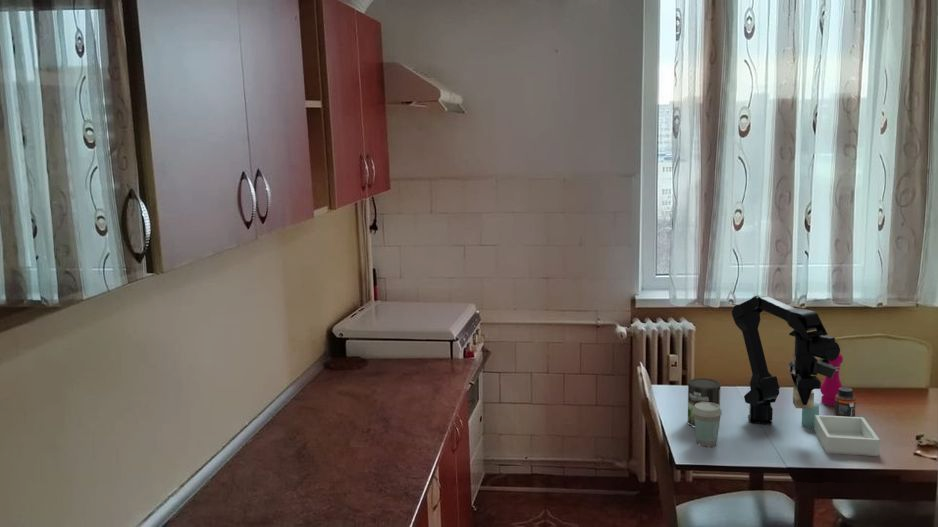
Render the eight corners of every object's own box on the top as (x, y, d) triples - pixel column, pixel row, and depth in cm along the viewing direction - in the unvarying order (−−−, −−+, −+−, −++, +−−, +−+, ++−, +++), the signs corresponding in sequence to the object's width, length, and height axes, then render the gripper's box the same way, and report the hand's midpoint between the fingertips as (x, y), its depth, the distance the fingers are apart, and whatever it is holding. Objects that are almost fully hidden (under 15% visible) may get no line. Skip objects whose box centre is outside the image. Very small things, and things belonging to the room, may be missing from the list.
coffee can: (711, 432, 235) (712, 390, 233) (681, 425, 242) (682, 384, 240) (725, 422, 243) (726, 381, 240) (696, 416, 250) (696, 376, 247)
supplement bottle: (857, 426, 235) (858, 392, 234) (837, 425, 237) (838, 391, 235) (851, 419, 241) (853, 386, 239) (831, 418, 242) (833, 385, 241)
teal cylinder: (803, 427, 236) (803, 406, 235) (800, 422, 241) (800, 401, 240) (820, 428, 235) (820, 407, 234) (816, 422, 240) (817, 402, 238)
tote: (826, 453, 217) (827, 437, 216) (814, 429, 234) (814, 414, 233) (879, 456, 213) (879, 440, 212) (862, 432, 230) (863, 417, 230)
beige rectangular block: (795, 408, 224) (796, 392, 223) (792, 402, 229) (793, 387, 228) (813, 409, 223) (814, 393, 222) (810, 403, 227) (810, 387, 227)
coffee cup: (717, 451, 221) (718, 412, 219) (688, 445, 226) (689, 408, 224) (724, 440, 228) (724, 403, 226) (696, 436, 233) (696, 399, 231)
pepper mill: (843, 400, 258) (846, 345, 255) (841, 407, 252) (844, 350, 249) (821, 397, 262) (823, 343, 259) (818, 404, 256) (820, 348, 253)
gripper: (841, 362, 212) (838, 414, 214) (827, 345, 230) (825, 393, 232) (799, 361, 215) (797, 412, 217) (788, 344, 233) (787, 391, 235)
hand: (803, 401), depth 225 cm, fingers closed on beige rectangular block, 5 cm apart
